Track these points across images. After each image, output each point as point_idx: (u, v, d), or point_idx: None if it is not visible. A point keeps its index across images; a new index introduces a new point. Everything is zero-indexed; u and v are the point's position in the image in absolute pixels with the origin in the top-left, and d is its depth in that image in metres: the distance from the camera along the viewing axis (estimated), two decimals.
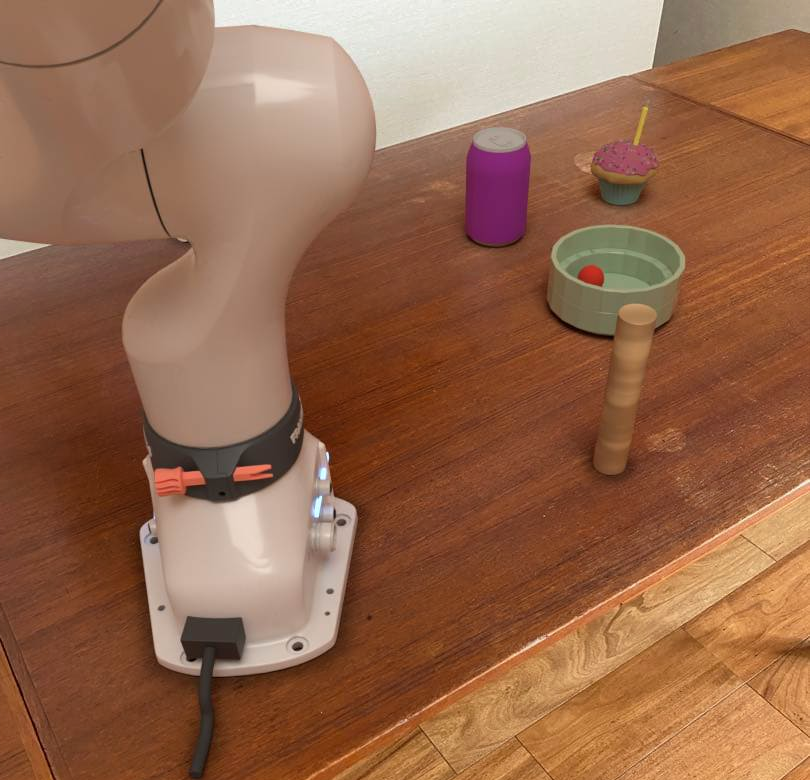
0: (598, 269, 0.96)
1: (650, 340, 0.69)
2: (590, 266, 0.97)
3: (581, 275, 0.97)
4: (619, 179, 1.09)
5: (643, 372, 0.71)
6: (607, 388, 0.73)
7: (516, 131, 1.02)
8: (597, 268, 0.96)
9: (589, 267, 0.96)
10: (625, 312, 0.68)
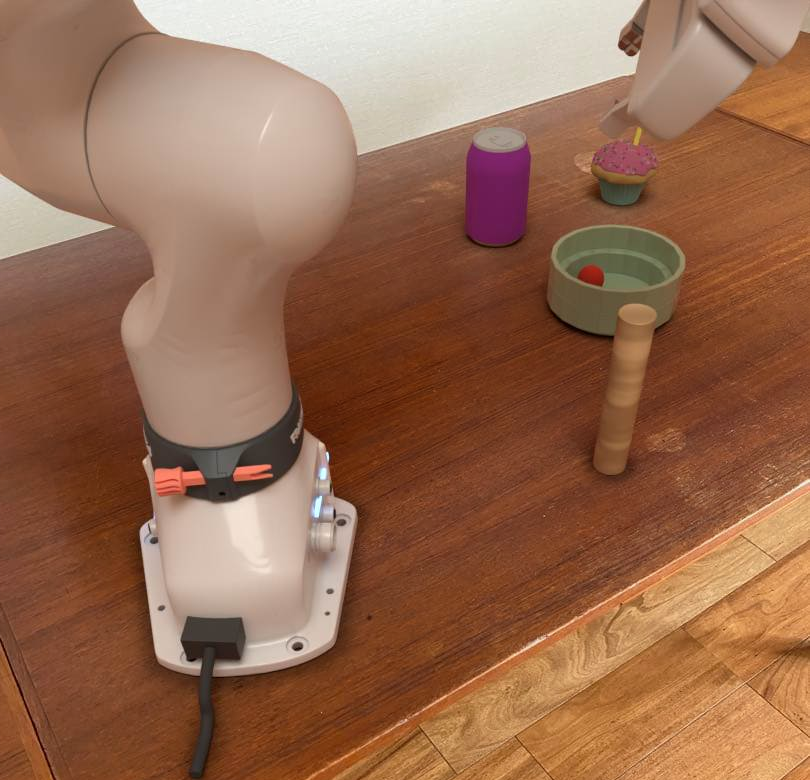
0: (598, 269, 0.96)
1: (650, 340, 0.69)
2: (590, 266, 0.97)
3: (581, 275, 0.97)
4: (619, 179, 1.09)
5: (643, 372, 0.71)
6: (607, 388, 0.73)
7: (516, 131, 1.02)
8: (597, 268, 0.96)
9: (589, 267, 0.96)
10: (625, 312, 0.68)
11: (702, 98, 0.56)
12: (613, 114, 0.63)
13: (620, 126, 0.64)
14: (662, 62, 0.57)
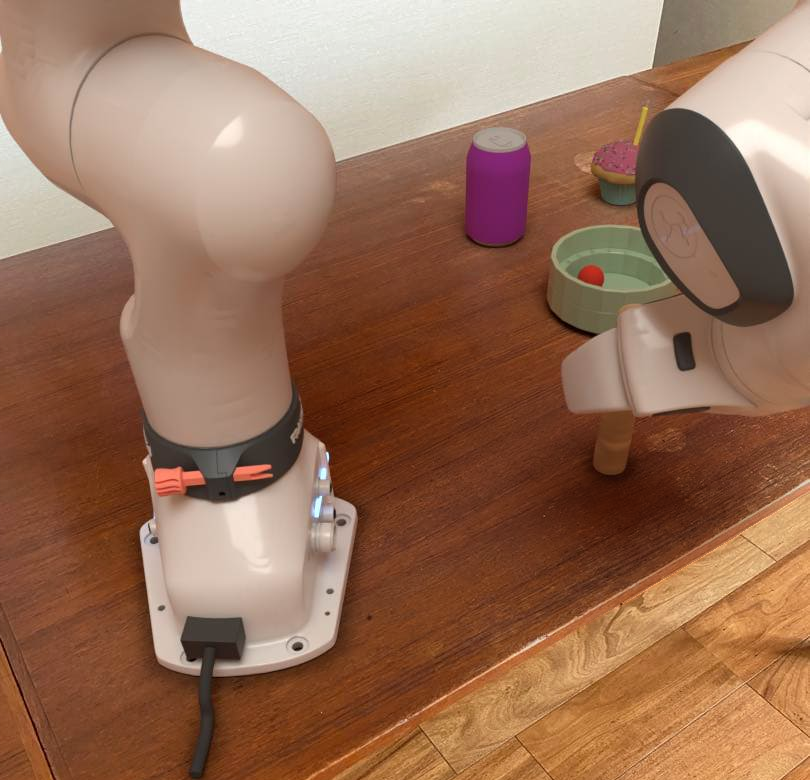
0: (598, 269, 0.96)
1: None
2: (590, 266, 0.97)
3: (581, 275, 0.97)
4: (619, 179, 1.09)
5: None
6: None
7: (516, 131, 1.02)
8: (597, 268, 0.96)
9: (589, 267, 0.96)
10: None
11: (588, 393, 0.55)
12: None
13: None
14: None
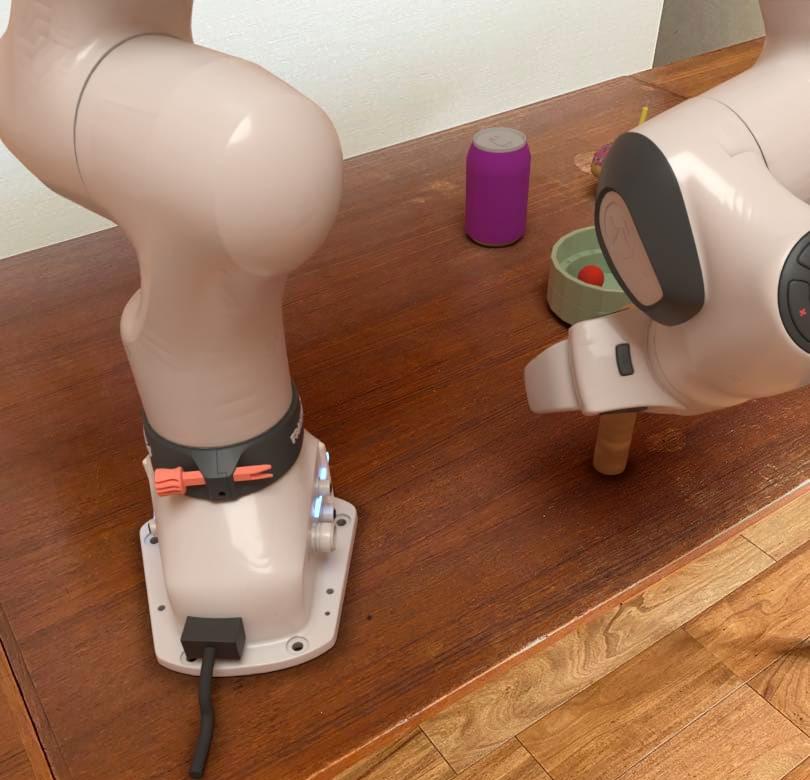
0: (598, 269, 0.96)
1: None
2: (590, 266, 0.97)
3: (581, 275, 0.97)
4: None
5: None
6: None
7: (516, 131, 1.02)
8: (597, 268, 0.96)
9: (589, 267, 0.96)
10: None
11: (545, 395, 0.64)
12: None
13: None
14: None
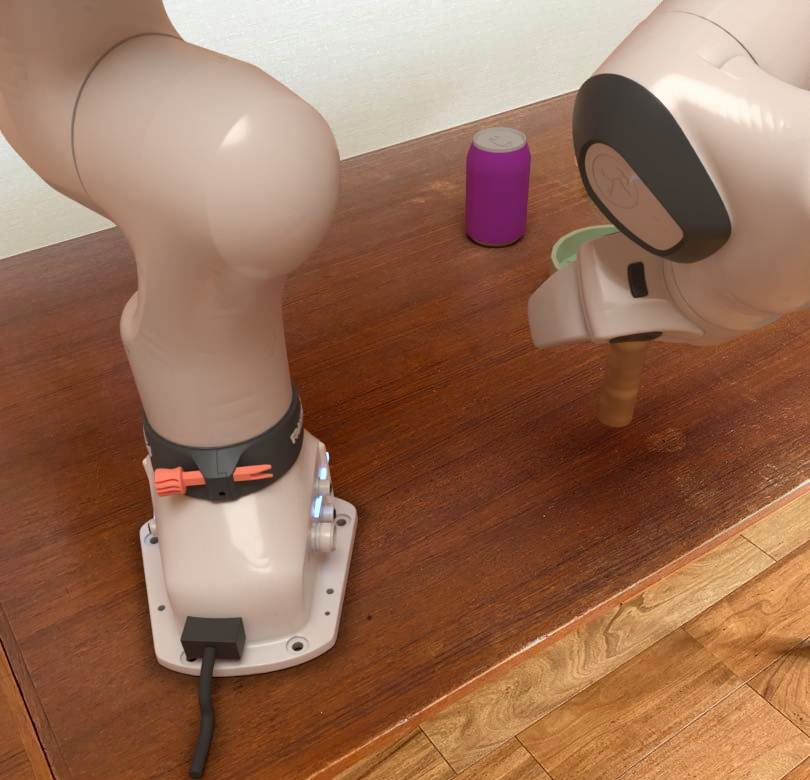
0: None
1: None
2: None
3: None
4: None
5: None
6: None
7: (516, 131, 1.02)
8: None
9: None
10: None
11: (551, 326, 0.59)
12: None
13: None
14: None
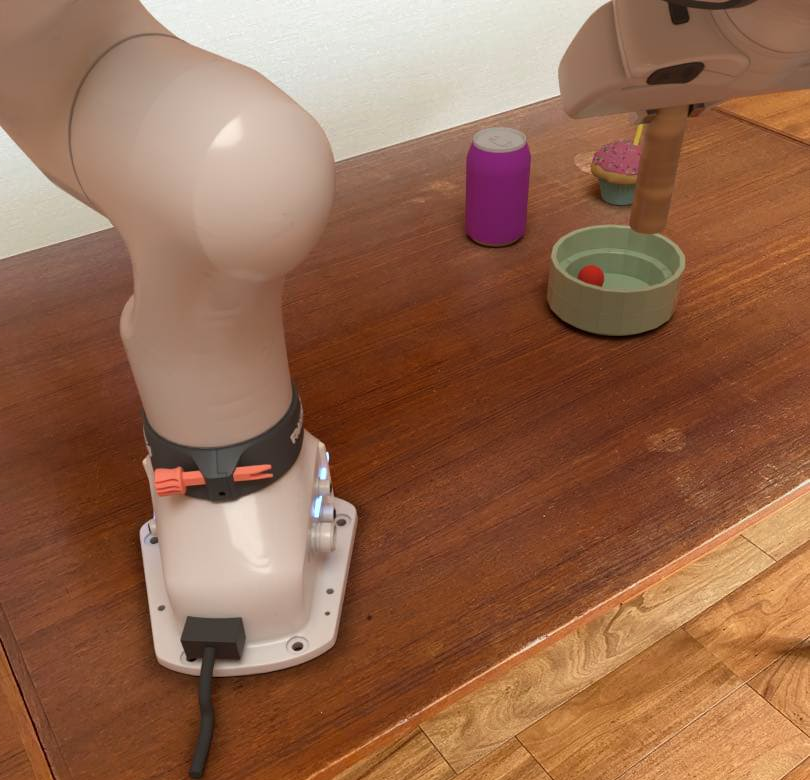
0: (598, 269, 0.96)
1: None
2: (590, 266, 0.97)
3: (581, 275, 0.97)
4: (619, 179, 1.09)
5: None
6: None
7: (516, 131, 1.02)
8: (597, 268, 0.96)
9: (589, 267, 0.96)
10: None
11: (584, 79, 0.56)
12: None
13: (635, 113, 0.65)
14: None
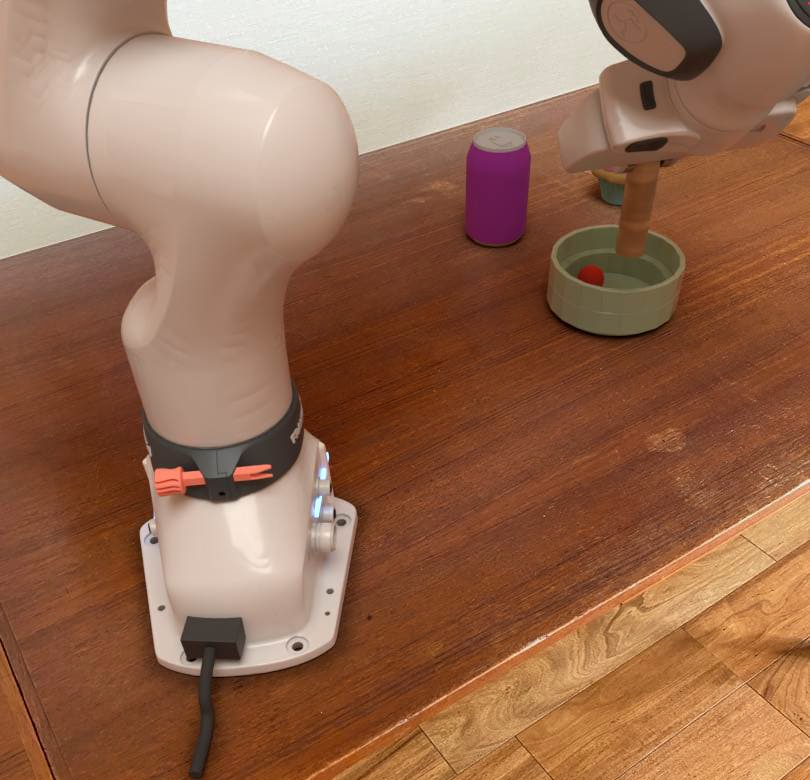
0: (598, 269, 0.96)
1: None
2: (590, 266, 0.97)
3: (581, 275, 0.97)
4: (619, 179, 1.09)
5: None
6: None
7: (516, 131, 1.02)
8: (597, 268, 0.96)
9: (589, 267, 0.96)
10: None
11: (578, 145, 0.74)
12: None
13: None
14: None
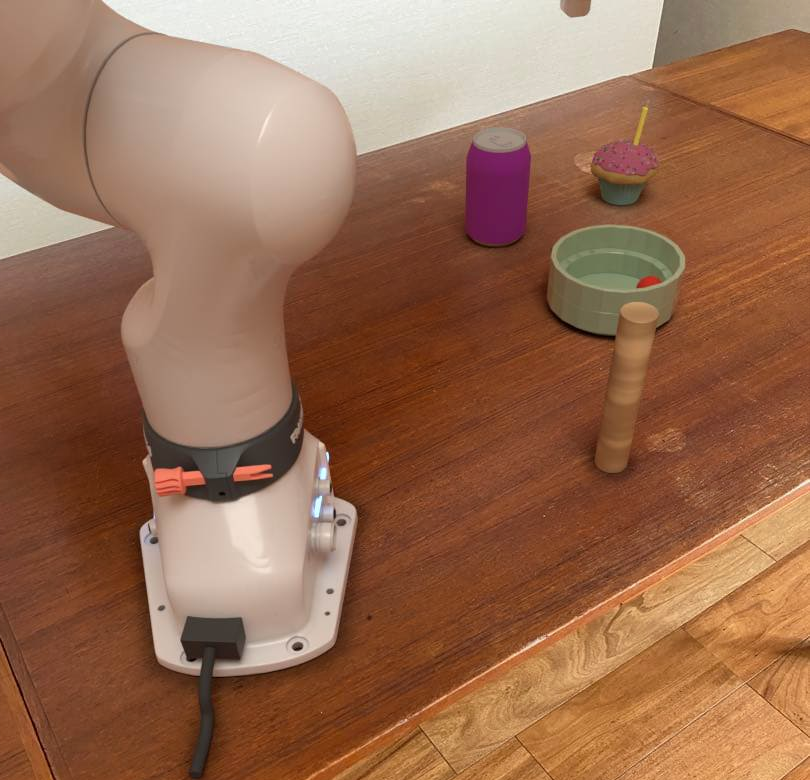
0: (637, 285, 0.96)
1: (652, 338, 0.69)
2: None
3: None
4: (619, 179, 1.09)
5: (644, 370, 0.71)
6: (609, 386, 0.73)
7: (516, 131, 1.02)
8: (637, 284, 0.96)
9: None
10: (627, 310, 0.69)
11: None
12: None
13: None
14: None
